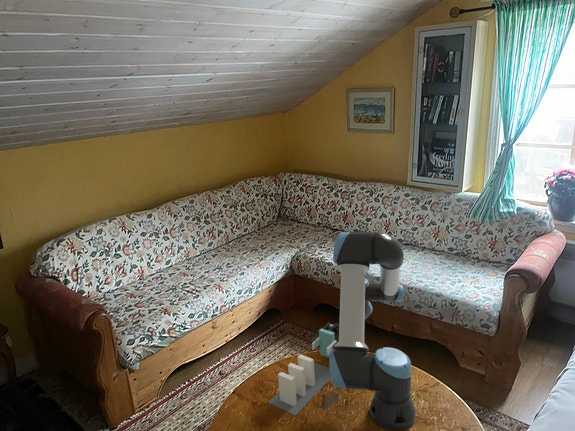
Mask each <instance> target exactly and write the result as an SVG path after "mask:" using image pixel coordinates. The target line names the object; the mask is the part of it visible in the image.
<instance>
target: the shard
mask: <svg viewBox="0 0 575 431" xmlns="http://www.w3.org/2000/svg"><path fill="white" fill-rule="evenodd" d="M342 397H343V395H342V394H341V393H339V392H338V391H337V390H335V389H334V388H330V389H329V390H327V391H325V392H324V393H323V394H322V399H321V403H322V404H321V406H322V411H321V413H324V411H325V410H328V409H329V408H332V407H333V406H335V405H336V404H339V403H340V402H341V401H342V400H343V398H342ZM323 410H324V411H323Z"/></svg>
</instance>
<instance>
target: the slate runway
mask: <svg viewBox="0 0 575 431" xmlns="http://www.w3.org/2000/svg"><path fill="white" fill-rule="evenodd" d="M314 374H315V385H314V386H313V387H311V386H309V385H306V394H305V395H304V396H301V395H299V394H297V393H296V401H297V404H296V405H295V406H292V405H289V404H287V403H285V402H283V401H281V400H280V392H279V391H278V392H277V393H276V394H275V395H274V396H273V397H272V398H271V399H270V400H269V401H268V403H269V404H271V405H273V406H275V407H277V408H279V409H282V410H284V411H286V412H288V413H289V414H292V415H294V416H296V415H297V414H298V413H299V412H301V410H303V408H304V407H305V406H306V405H307V404H308V403H309V402H310V400H311V399H312V398H313V397H315V395H316V394H317V393H318V392H319V391H320V390H321V389H322V387H324V386H325V384H326V383H327V382H328V381H329V380H330V379H331V374H330V366H329V367H328V366H325V365H322V364H321V363H319V362H315V361H314Z"/></svg>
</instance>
